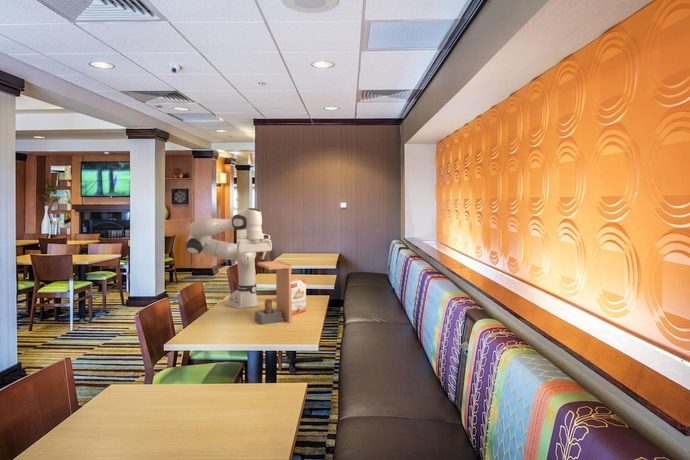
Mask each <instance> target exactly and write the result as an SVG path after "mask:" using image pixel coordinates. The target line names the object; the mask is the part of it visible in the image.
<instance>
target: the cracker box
mask: <svg viewBox="0 0 690 460" xmlns="http://www.w3.org/2000/svg"><path fill="white" fill-rule="evenodd" d="M291 296H292V316H294V315H299V314H301V312H302V313H304V311H305V312H306V311H307V310H306V308H307V279H306V278H303V277H299V278H293V279H291Z"/></svg>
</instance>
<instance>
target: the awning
mask: <svg viewBox="0 0 690 460" xmlns="http://www.w3.org/2000/svg"><path fill="white" fill-rule="evenodd" d="M256 265H257V266H259V267H261V268H265V269H267V270H268V271H269V270H270V271H271V270H276V272H275V275H276V277H275V278H276V279H275V282H276V284H275V285H276V287H275V288H276V296H275V297H276V310H278V311H280V312H281V313H282V320H285V321H286V322H287V323H289V324H290V323H293V320H292V319H293V315H292V296H291V280H292V265H291V264H289V263H286V262H283V261H280V260H273V261H259V262H257V264H256Z"/></svg>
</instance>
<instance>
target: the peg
mask: <svg viewBox="0 0 690 460" xmlns="http://www.w3.org/2000/svg"><path fill="white" fill-rule="evenodd" d="M272 303H273V300H272V299H265V300H264V310H265V314H267V313H272V309H273V304H272Z"/></svg>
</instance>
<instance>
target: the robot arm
mask: <svg viewBox="0 0 690 460" xmlns="http://www.w3.org/2000/svg"><path fill="white" fill-rule="evenodd" d="M262 215H263V214H262V211H261V210H260V209H259V208H255V207H254V208H253V207H249V208H247V209H246V210H244V211H243V212H240V213H237V214H235V215H233V216H232V218H228V219H227V218H217V217H216V218H215V217H214V218H213V217H207V218H201V219H196V220H194V221H193V222H191V223H189V226H188V232H189V234H188V238H187V241H186V243H185V249H186V251H187V252H188V253H190V254H192V255H198V254H200V253H203V254H206V255H208V256H210V257H215V258H218V259H223V260H229V261H237V262H236V263H237V271H238V272H237V273H238V284H237V285H235V288H236V290H235V291H233V292H232V293H231V294H230V295H229V297H228V301H227V302H225V303H224V305H225V306H228V307H232V308H236V309H244V308H247V309H248V308H254V307H258V306H259V300H258V297H257V296H258V295H257V280H256V278H257V277H256V276H257V275H256V273H257V272H256V267H255V266H256V265H255V264H256V262H255V259H256V257H257V253H261V252H262V255H261V256H260V259H261V260H265V256H266V254H267V252H271V251H272V250H273V245H272V244H273V243H272V240H271V235H269V234H266V233H264V232H263V228H262V224H263V216H262ZM229 230H236V231H245V230H246V236H239V237H238V238H236V243H232V242H227V241H223V240H218V239H214V238H212V236H215V235H217V234H221V233H223V232H227V231H229Z"/></svg>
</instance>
